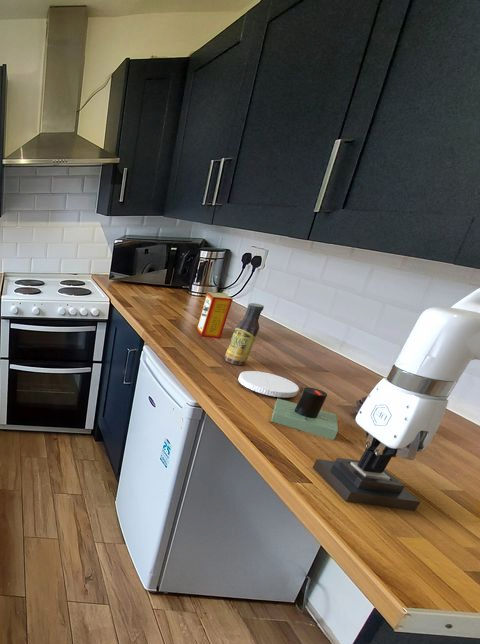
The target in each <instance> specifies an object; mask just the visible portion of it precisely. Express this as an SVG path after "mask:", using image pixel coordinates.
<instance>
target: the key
mask: <svg viewBox="0 0 480 644" xmlns="http://www.w3.org/2000/svg"><path fill="white" fill-rule="evenodd" d="M350 465H351V466H352V467H354V468H355V469H356V470H357V471H358V472H359V473H360V474H361V475H363V476H364V477H366V478H374V479H381V480H390V477H389V476H387V475H386V474H385V473H384V472H382V473H375V472H367V471H364V470H362V468H360V467H359V466H358V463H357V462H351V463H350Z"/></svg>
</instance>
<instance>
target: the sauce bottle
mask: <svg viewBox="0 0 480 644" xmlns="http://www.w3.org/2000/svg"><path fill="white" fill-rule="evenodd" d="M264 307H265V306H264V305H263V304H260V303H256V302H255V303H254V302H250V303H248V305H247V309H246V311H245V314H244V316H243V318H242V319H241V320H240V321H239V322H238V324H237V325H236V327H235V328H234V331H233V333H232V336H231V339H230V340H229V341H230V342H229V344H228V347H227V350H226V352H225V355H224V361H225V362H227V363H228V364H232V365H234V366H244V365H245V364H246V362H247V361H248V359H249V356H250V354H251V351H252V349H253V346H254V344H255V342H256V339H257V335H258V333H259V331H260V323H259V319H260V316H261V313H262V312H263V311H264Z"/></svg>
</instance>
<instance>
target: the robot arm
mask: <svg viewBox="0 0 480 644" xmlns="http://www.w3.org/2000/svg"><path fill="white" fill-rule="evenodd" d="M473 360H478V361H480V287H479V288H477V289H475V290H474V291H472V292H470V293H469V294H468V295H466V296H465V297H462V298H461V299H460V300H459V301H457V302H456V303H454V304H453V305H452V306H451V307H449V306H432V307H429V308H426V309H425V310H423V311H422V312H421V314H420V315H419V317H418V318H417V321H416V323H415V324H414V326H413V328H412V330H411V332H410V334H409V336H407V339H406V341H405V342H404V345H403V347H402V348H401V351H400V352H399V354H398V356H397V358H396V360H395V361H394V363H393V365H392V366H391V369H390V370H389V373H388V375H387V377H383V378H382V379H381V380H380V381H379V382H378V383H376V385H375V386H374V387H373V389H372V390H371V391H370V393H369V394H368V395H367V396H368V397H367V399H366V400H365V402H364V403H363V405H362V407H361V408H360V410H359V412H358V414H356V416H355V422H356V424H357V425H358V426H359V427H360V428H361V429H362V430H363V432H364V433H365V435H366V440H365V443H364V444H365V445H364V446H365V450H364V452H363V453H362V455H361V457H360V459H359V463H358V466H359V467H360V468H362V470H364V471H367V472H375V473H382V472H383V471H384V469H385V470H386V468H387V466H388V464H389V463H390V461H391V459H392V458H394V459H395V458H397V457H398V458H401V459H403V460H409V461H413V460H415V458H416V456H417V452H419V453H420V452H421V453H422V452H423V451H425V450H426V448H427V447H428V446H429V445H430V444H431V442H432V440H433V438H434V437H435V435H436V434H437V431H438V429H439V428H440V425H441V423H442V421H443V418H444V417H445V413H446V411H447V407H448V405H449V400H448V398H449V396H450V395H451V393H452V392H453V390H454V388H455V387H456V386H457V384H458V382H459V381H460V378H461V377H462V375H463V374H464V372H465V371H466V369H467V367H468V366H469V364H470V362H471V361H473Z"/></svg>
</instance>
